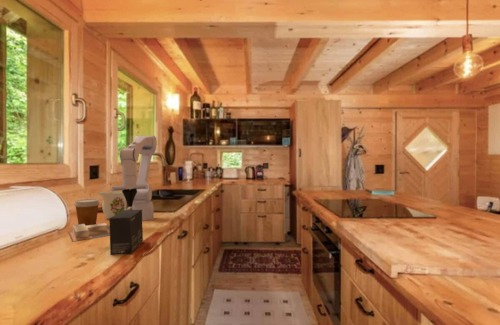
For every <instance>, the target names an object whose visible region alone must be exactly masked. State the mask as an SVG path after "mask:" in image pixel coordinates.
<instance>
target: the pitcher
mask: <svg viewBox="0 0 500 325" xmlns="http://www.w3.org/2000/svg"><path fill="white" fill-rule="evenodd" d="M97 194H98V195H100V196H101V197H102V203H101V205H102V206H101V207H102V211H103V214H104V217H105V218H106V219H107V220H109V218H111V217H113V216H114V215H116V214H118V213H120V212H121V211H123V210H132V207H127V202H126V199H125V196H124V194H123V193H122V191H111V190H110V191H100V192H97Z"/></svg>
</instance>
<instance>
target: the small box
mask: <svg viewBox="0 0 500 325" xmlns="http://www.w3.org/2000/svg"><path fill="white" fill-rule="evenodd" d="M108 220H109V222H108V223H109V226H110V236H109V246H110V248H109V252H110V253H109V254H110V255H113V256H115V255H132V254H133V253H134V252H135V251H136V249H137V248H138V247H139V246H140V245H141V244H142V243H143V242H144V236H143V235H144V231H143V230H144V229H143V221H142V210H132V209H130V210H123V211H121V212H120V213H118V214H116V215H114V216H113V217H111V218H109V219H108Z"/></svg>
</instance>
